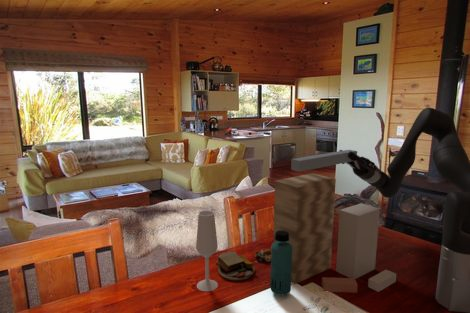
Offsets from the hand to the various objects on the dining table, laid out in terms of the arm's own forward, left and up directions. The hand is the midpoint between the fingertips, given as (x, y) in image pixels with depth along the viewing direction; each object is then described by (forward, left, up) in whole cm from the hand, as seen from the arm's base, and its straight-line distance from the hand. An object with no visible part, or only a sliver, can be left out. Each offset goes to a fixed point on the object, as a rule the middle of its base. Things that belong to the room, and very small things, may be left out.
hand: (344, 153), depth 121 cm
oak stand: (-14, +14, -39) cm, 44 cm away
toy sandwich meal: (-19, +37, -39) cm, 57 cm away
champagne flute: (-29, +44, -39) cm, 66 cm away
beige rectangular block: (-19, -11, -39) cm, 45 cm away
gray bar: (-7, +7, -3) cm, 10 cm away
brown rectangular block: (-24, +3, -39) cm, 46 cm away
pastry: (-8, +25, -40) cm, 47 cm away
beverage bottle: (-30, +21, -39) cm, 53 cm away
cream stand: (-11, -4, -39) cm, 41 cm away
